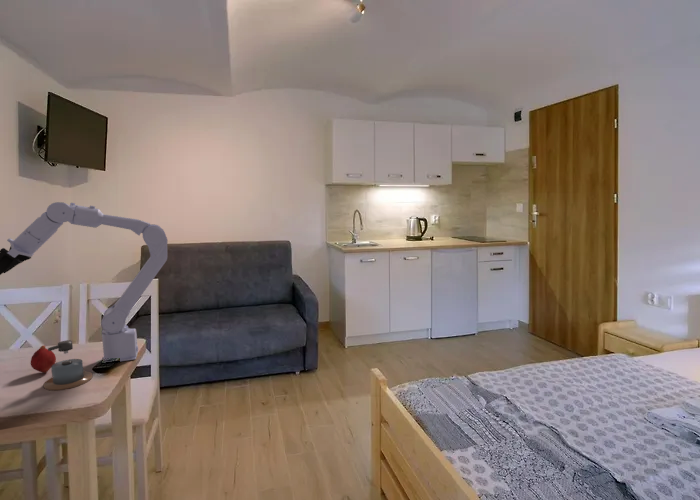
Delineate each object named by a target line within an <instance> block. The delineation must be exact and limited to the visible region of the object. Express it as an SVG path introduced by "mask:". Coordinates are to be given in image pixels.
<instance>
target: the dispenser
mask: <svg viewBox="0 0 700 500" xmlns="http://www.w3.org/2000/svg"><path fill="white" fill-rule="evenodd" d="M83 363H84V362H83V360H82V359H81V358H80V359H79V358H70V359H65V360H61V361H58V362H57V361H56V362H55V364H53V365H52V366H51V368H50V370H51V376H52V377H51V378H49V379H47V380H46V381H45V382H44V383H43V388H44V389H45V390H47V391H62V390H69V389H72V388H76V387H79V386H82V385H84V384H86V383H88V382H90V381H91V380H92V379H93V373H92V372H91V371H86V370H84V365H83Z"/></svg>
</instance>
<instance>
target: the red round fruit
mask: <svg viewBox="0 0 700 500" xmlns="http://www.w3.org/2000/svg"><path fill="white" fill-rule="evenodd" d="M56 359H57V356H56V354H55V353H54V352H53V350H51V351H48V348H47V347H46V345H41V346H40V347H39V348H38V349H37V350H36V351H35V352H34V353H33V354H32V356H31V358H30V366H31V368H32V369H33V370H35V371H37V372H39V373H42V374H44V373H45V374H46V373H48V371H50V370H51V366H52V365H53V364H55V363H57V360H56Z"/></svg>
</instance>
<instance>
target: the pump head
mask: <svg viewBox="0 0 700 500" xmlns="http://www.w3.org/2000/svg"><path fill="white" fill-rule="evenodd" d="M47 349H48V351H54V350H58V352H60V353H61V352H63V354H69V351H71V350H73V349H74V348H73V340H71V339H70V340H62V341H59V342H57V345H54V346H50V347H47Z"/></svg>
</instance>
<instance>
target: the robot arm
mask: <svg viewBox="0 0 700 500" xmlns="http://www.w3.org/2000/svg"><path fill="white" fill-rule="evenodd" d="M67 222H68V223H70V224H71V225H74V226H75V225H76V226H82V227H87V228H88V227H89V228H94V229H95V228H96V229H97V228H98V227H100V226H101V225H103V226H107V227H108V226H110V227H115V228H120V229H124V230H129V231H131V232H133V233H134V234H135V235H137V236H140V235H141V234H142V240H143V241H144V243H145V244H146V246H147V247H148V251H149V258H148V259H147V261H145V263H144V264H143V266H142V268H141V269H140V270H139V272H138V273H137V274H136V276H135V277H134V278H133V280H132V281H131V282H130V283H129V285H128V286H127V288H126V289H125V290H124V292H123V293H122V294H121V296H120V297H119V298H118V300H117V301H116V302H115V303H114V304H112V306H111V307H108V308H107V309H106V310H105V311H104V313H103V317H102V320H101V322H100V323H101V325H100V326H101V328H102V330H101V338H102V339H101V341H102V350H103V351H102V352H103V357H102V360H103V359H105V358H120V362H125V361H132V360H133V361H134V360H136V359H137V356H138V353H139V345H138V335H137V329H136V328H130V327H129V326H128V325H127V324H126V322H127V321H126V320H127V318H128V316H129V315H130V314H131V311H132V310H133V308H134V306H135V305H136V304H137V302H138V301H139V299H140V298H141V296H143V294H144V292H145V291H146V290H147V288H148V287H149V285H150V284H151V283H152V281H153V280H154V279H155V277H157V274H158V273H159V272H160V270H161V269H162V268H163V266H164V265H165V263H166V262H167V260H168V237H167V234H166V232H165V230H164V229H163V228H162V227H161V226H160V225H159V224H151V222H148V221H144V220H141V219H137V218H131V217H125V216H124V217H123V216H117V215H111V214H105V213H103V212H102V211H101V209H100V208H96V206H95V205H90V206H84V205H78V204H76V203H75V202H70V204H68V203H66V202H61V201H60V202H59V201H58V202H57V201H56V202H55V201H54V202H53V203H51V204H49V205H48V206H47V208H46V210H45V212H43V213H42V214H41V215H40V216H38V217H37V218H36V219H35V220H34V221H33V222H31V223H30V224H29V225H28V226H27V227H26V228H25V229H24V231H22V232H21V233H20V234H19V235H18V236H17V237H16V238H15V239H12V238H11V237H10V238H8V239H7V242H8V243H9V244H10V247H9V250H8V249H6V248H4V247H2V248H1V249H0V276H1V275H2V274H5V273H8V272H9V271H10V270H11V271H12V269H13V268H15V267H17V266H18V265H20V264H22V263H24V262H25V261H28V260H30V259H32V257H33V256H34V255H35V253H36V252H37V251H38V250H39V249H40V248H41V247H42V246H43V245H44V244H45V243H46V242H47V241H49V239H51V237H52V236H53V235H54V234H55V233H57V231H58V230H59V228H60V227H62V225H64V224H65V223H67ZM102 360H101V361H102Z"/></svg>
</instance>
